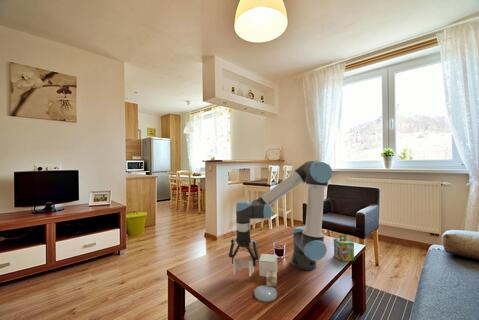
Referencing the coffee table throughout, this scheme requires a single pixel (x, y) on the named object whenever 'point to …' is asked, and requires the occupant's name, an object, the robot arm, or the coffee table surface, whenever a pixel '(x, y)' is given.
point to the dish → (265, 293)
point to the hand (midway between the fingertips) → (243, 270)
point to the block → (271, 278)
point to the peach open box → (242, 261)
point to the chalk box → (343, 249)
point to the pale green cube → (267, 264)
